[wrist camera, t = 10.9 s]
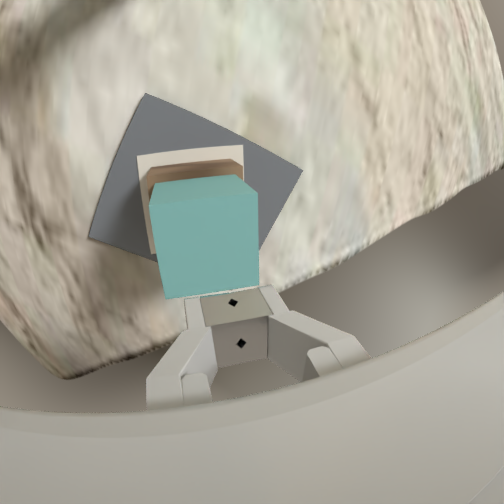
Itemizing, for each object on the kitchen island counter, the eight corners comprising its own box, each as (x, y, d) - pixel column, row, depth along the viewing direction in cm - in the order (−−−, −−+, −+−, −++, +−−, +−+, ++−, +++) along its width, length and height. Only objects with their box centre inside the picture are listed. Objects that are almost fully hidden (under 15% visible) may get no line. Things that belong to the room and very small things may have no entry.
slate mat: (90, 234, 21) (88, 237, 20) (146, 93, 17) (145, 92, 17) (236, 286, 26) (237, 289, 26) (300, 169, 23) (303, 170, 23)
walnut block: (161, 241, 22) (159, 264, 19) (151, 167, 19) (146, 176, 16) (233, 231, 23) (245, 252, 20) (230, 158, 21) (242, 166, 17)
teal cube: (165, 256, 18) (165, 299, 14) (155, 183, 16) (148, 205, 12) (238, 246, 20) (259, 284, 15) (235, 174, 17) (257, 193, 13)
